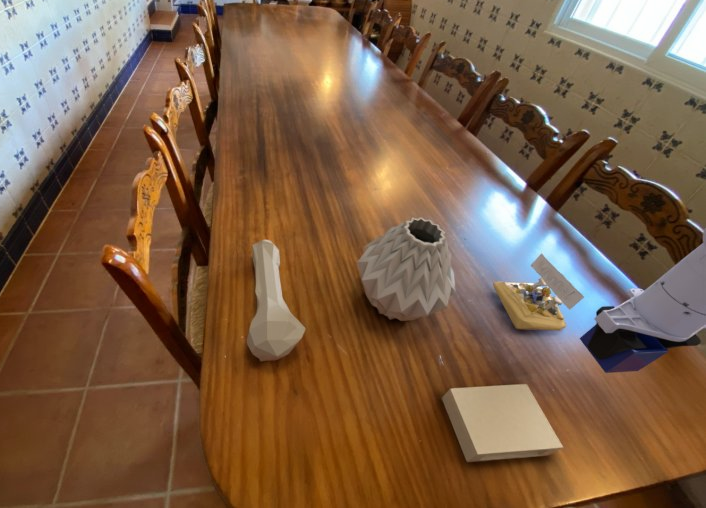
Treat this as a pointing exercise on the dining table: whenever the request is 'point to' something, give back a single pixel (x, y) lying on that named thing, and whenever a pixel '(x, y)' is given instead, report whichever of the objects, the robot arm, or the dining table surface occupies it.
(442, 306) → the vase
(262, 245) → the faceted club
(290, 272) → the dining table surface
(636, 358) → the box
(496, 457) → the beige flat block
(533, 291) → the cake
